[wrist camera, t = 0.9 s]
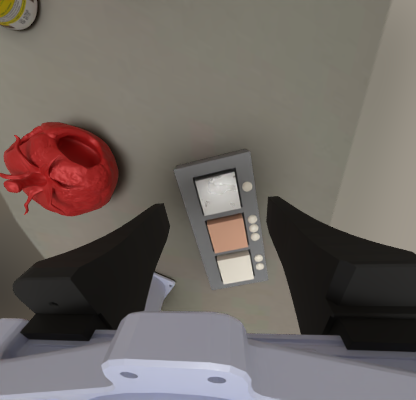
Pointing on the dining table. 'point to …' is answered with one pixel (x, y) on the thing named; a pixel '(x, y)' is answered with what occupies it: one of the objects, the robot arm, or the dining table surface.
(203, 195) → the button one dot
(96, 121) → the dining table surface
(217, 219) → the button three dot
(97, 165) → the red hollow rounded sculpture
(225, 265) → the button two dot
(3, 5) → the supplement bottle
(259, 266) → the button panel
